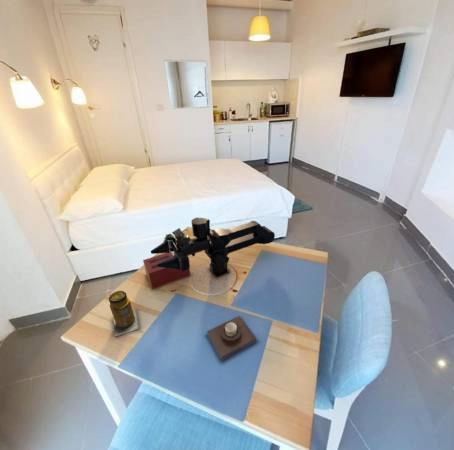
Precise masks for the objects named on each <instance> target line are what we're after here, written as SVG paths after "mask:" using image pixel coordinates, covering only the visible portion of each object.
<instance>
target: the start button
mask: <svg viewBox="0 0 454 450" xmlns="http://www.w3.org/2000/svg"><path fill="white" fill-rule="evenodd" d="M225 333H226V335H227V336H234V335H236V333H237V326H236V324H235V323H232V322H230V323H227V324H226V326H225Z"/></svg>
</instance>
